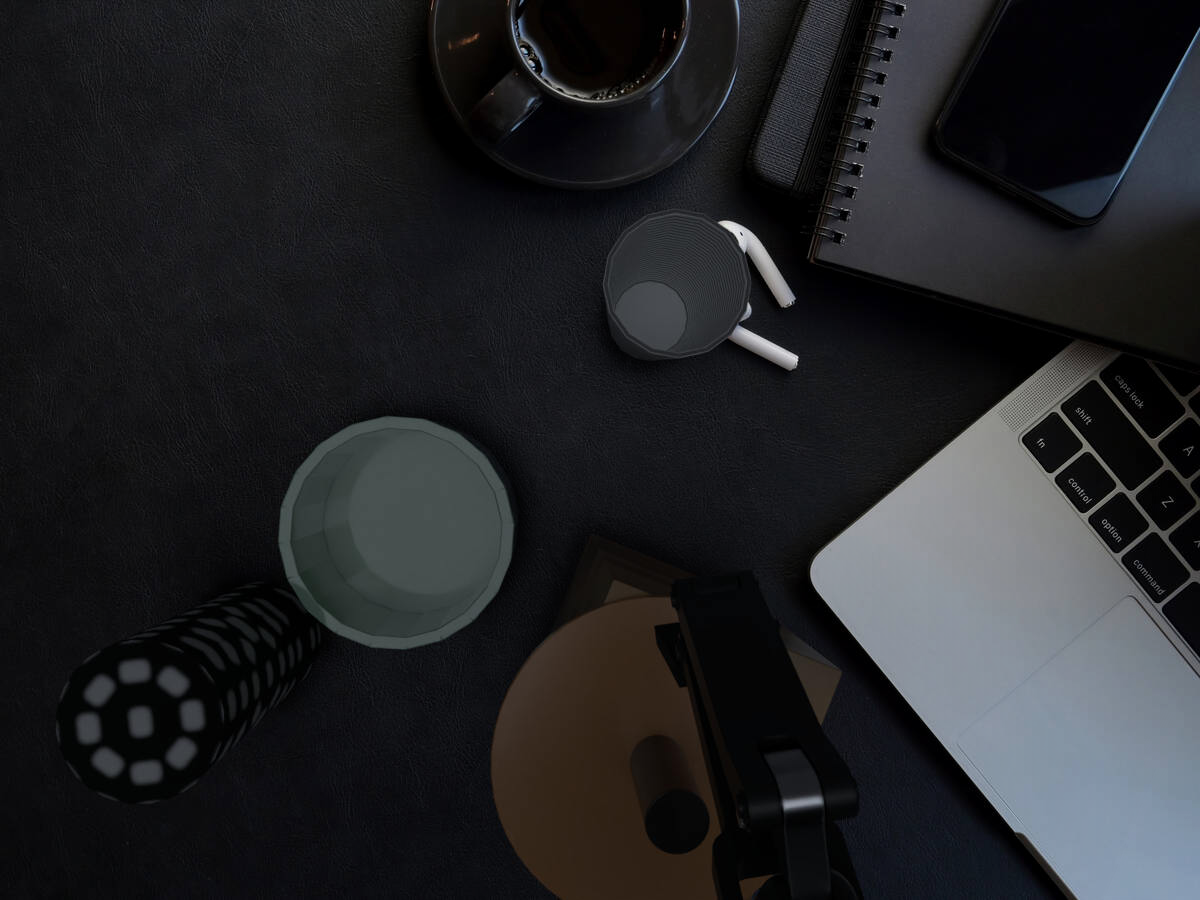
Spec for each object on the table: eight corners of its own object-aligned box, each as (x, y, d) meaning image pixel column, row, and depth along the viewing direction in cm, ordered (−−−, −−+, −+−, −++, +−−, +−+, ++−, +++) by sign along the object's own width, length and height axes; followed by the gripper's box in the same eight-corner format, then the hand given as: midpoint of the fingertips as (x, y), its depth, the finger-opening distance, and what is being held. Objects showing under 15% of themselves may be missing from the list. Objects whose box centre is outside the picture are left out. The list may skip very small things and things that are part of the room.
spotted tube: (196, 589, 67) (46, 650, 47) (314, 575, 67) (214, 630, 47) (209, 704, 67) (65, 814, 47) (326, 690, 67) (233, 792, 47)
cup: (619, 396, 68) (640, 382, 53) (572, 290, 68) (578, 244, 53) (724, 349, 69) (775, 321, 53) (677, 243, 69) (715, 184, 53)
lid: (727, 975, 45) (763, 1083, 37) (433, 835, 44) (409, 916, 36) (872, 683, 45) (937, 731, 37) (583, 538, 44) (590, 557, 37)
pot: (472, 652, 68) (460, 683, 59) (283, 577, 67) (242, 597, 58) (548, 466, 68) (548, 469, 59) (361, 389, 67) (332, 381, 58)
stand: (679, 744, 69) (749, 904, 45) (528, 684, 68) (517, 814, 44) (741, 593, 69) (843, 671, 45) (591, 532, 68) (613, 578, 44)
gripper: (1239, 1964, 16) (846, 1095, 37) (1054, 516, 16) (764, 474, 37) (808, 2062, 16) (659, 1127, 37) (609, 579, 15) (575, 500, 36)
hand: (711, 800), depth 37 cm, fingers open, 13 cm apart
